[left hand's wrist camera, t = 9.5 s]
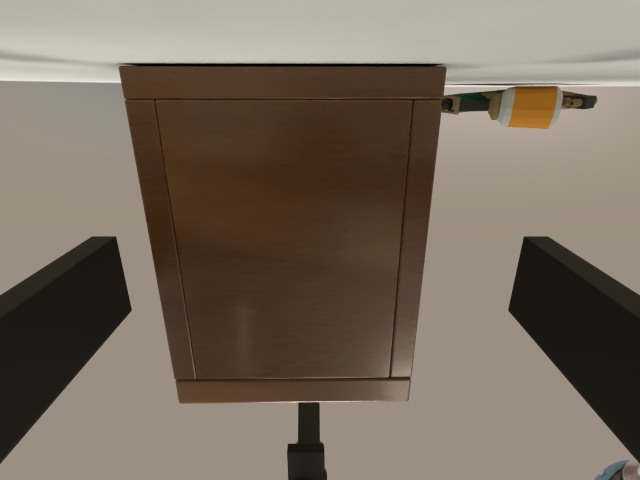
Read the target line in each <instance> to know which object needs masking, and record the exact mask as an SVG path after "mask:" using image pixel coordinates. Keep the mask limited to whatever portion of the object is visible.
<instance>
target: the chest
mask: <svg viewBox="0 0 640 480" xmlns="http://www.w3.org/2000/svg"><path fill="white" fill-rule="evenodd" d="M119 72H120V77H121V83H122V88H123V94H124V98H125V99H126V100H125V105H126V110H127V116H128V121H129V127H130V133H131V138H132V144H133V149H134V155H135V160H136V166H137V171H138V177H139V183H140V188H141V194H142V199H143V205H144V211H145V216H146V222H147V227H148V233H149V239H150V244H151V250H152V255H153V261H154V266H155V272H156V278H157V283H158V289H159V294H160V300H161V306H162V311H163V317H164V322H165V328H166V333H167V339H168V345H169V350H170V356H171V361H172V367H173V373H174V378H175V379H176V380H178V379H279V378H382V377H389V375H390V377H411V375H412V367H413V358H414V349H415V340H416V331H417V322H418V313H419V305H420V296H421V287H422V278H423V269H424V260H425V251H426V243H427V234H428V225H429V216H430V207H431V199H432V190H433V181H434V172H435V163H436V154H437V145H438V136H439V128H440V118H441V110H442V100H441V99H442V98H443V94H444V86H445V77H446V67H445V66H120V67H119Z"/></svg>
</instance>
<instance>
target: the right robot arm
mask: <svg viewBox="0 0 640 480" xmlns="http://www.w3.org/2000/svg"><path fill="white" fill-rule="evenodd" d="M287 458H288V480H327V472H326V469H325V467H324V445H323V443H322V442H320V419H319V402H299V407H298V442H297V443H296V444H288V450H287ZM594 480H640V463H639V462H638V461H637V460H636V459H632V460H625V461H619V462H616V463H614V464H612V465H610V466H608V467H607V468H605V469H604V473H603V474H602V475H598V476H597V477H596V478H595V479H594Z"/></svg>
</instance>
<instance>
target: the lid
mask: <svg viewBox="0 0 640 480" xmlns="http://www.w3.org/2000/svg"><path fill="white" fill-rule="evenodd" d="M410 383H411V378H410V377H390V375H389V377H382V378H279V379H178V380H176V387H177V393H178V398H179V403H181V404H185V403H278V402H371V401H408V399H409V392H410Z"/></svg>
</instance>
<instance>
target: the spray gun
mask: <svg viewBox="0 0 640 480" xmlns="http://www.w3.org/2000/svg"><path fill="white" fill-rule="evenodd" d="M441 100H442V110H441V112H443V113H451V114H458V113H459V112H468V111H488V113H489V115H490V117H491V119H492V120H496V119H497V120H498V121H499V123H500V124H501V125H504V126H507V127H523V128H542V129H547V128H550V127H551V126H553V125H554V124H555V123H556V121H557V119H558V117H559V114H560V111H561V109H570V108H576V109H589V108H593V107H594V104H596V103H597V98H596V96H589V95H582V94H576V93H573V92H566V91H561V90H560V89H559V87H557V86H515V87H511V88H508V89H507V90H497V91H487V92H475V93H463V94H453V95H446V96H444V95H443V98H442V99H441ZM446 110H448V111H446Z"/></svg>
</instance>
